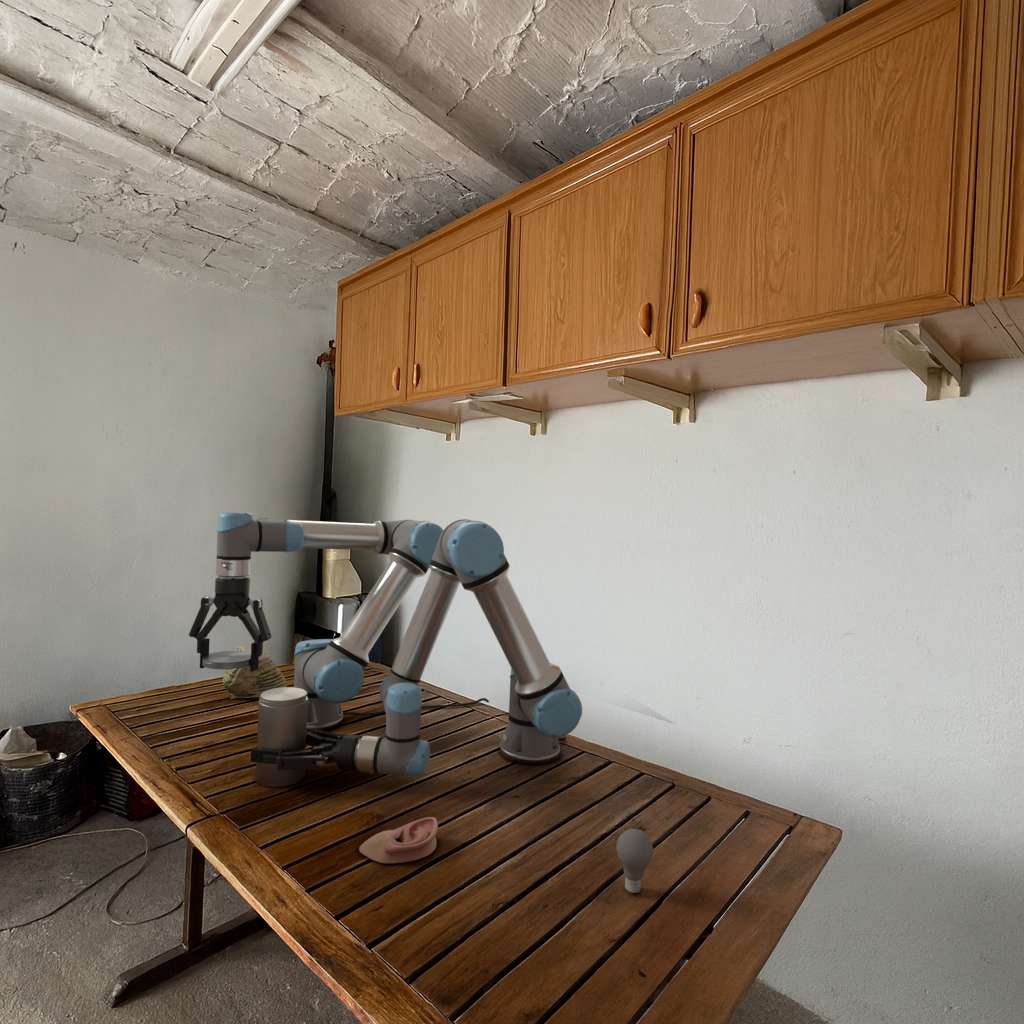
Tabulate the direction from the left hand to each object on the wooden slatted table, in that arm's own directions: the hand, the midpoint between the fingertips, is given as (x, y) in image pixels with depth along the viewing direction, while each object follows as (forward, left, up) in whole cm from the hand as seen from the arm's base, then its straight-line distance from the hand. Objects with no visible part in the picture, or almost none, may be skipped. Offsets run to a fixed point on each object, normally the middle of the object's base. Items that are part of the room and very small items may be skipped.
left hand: (229, 668), depth 150 cm
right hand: (-1, +15, -15) cm, 21 cm away
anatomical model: (-2, +59, -22) cm, 63 cm away
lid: (0, 0, +3) cm, 3 cm away
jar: (-3, +18, -22) cm, 28 cm away
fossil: (-29, -39, -22) cm, 53 cm away
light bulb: (-20, +97, -22) cm, 102 cm away
